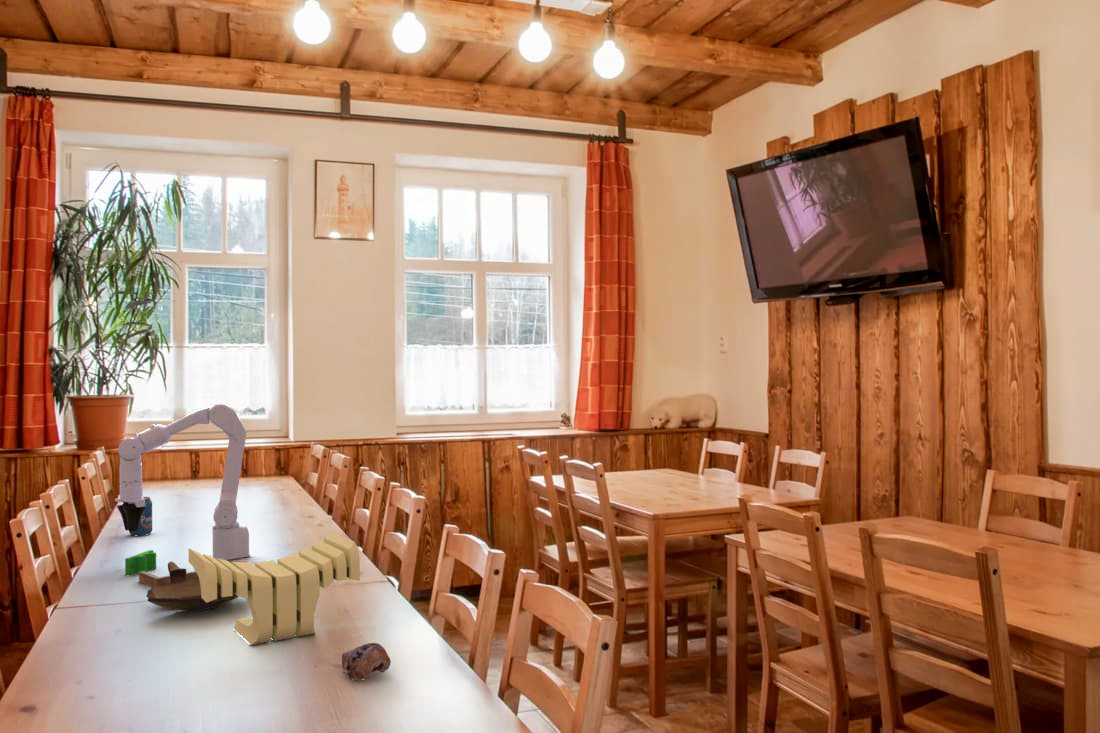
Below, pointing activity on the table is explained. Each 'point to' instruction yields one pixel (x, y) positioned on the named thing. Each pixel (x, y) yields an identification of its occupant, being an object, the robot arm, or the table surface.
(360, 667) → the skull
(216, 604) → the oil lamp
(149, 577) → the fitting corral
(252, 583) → the slatted curved stool
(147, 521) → the soda can
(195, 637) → the table surface
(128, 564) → the pipe clamp
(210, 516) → the table surface
